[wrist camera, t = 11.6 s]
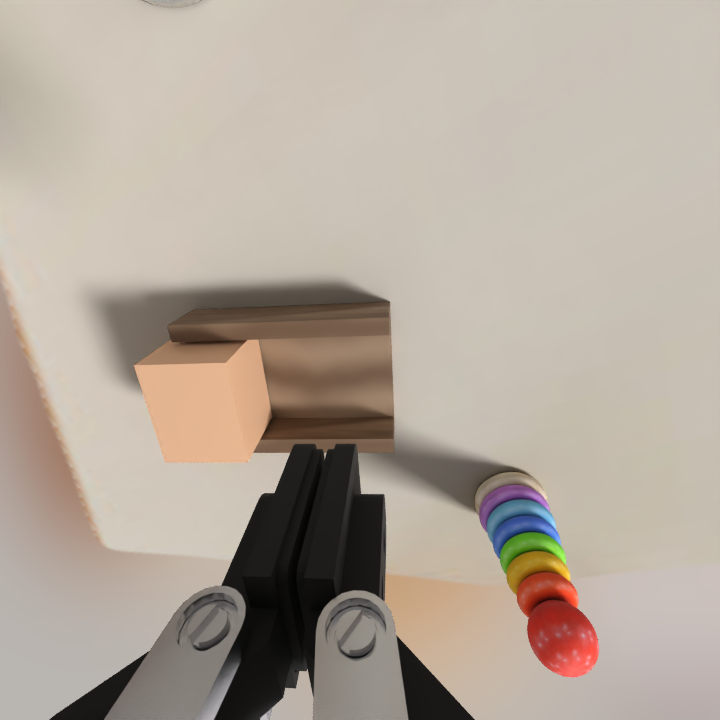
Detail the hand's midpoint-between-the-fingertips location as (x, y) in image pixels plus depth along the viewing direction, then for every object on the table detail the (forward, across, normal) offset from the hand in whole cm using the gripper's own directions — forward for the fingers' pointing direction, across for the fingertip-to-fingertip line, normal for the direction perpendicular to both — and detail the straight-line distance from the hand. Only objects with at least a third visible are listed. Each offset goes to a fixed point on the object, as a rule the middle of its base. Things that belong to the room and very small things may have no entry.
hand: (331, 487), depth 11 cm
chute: (+29, +9, +10) cm, 32 cm away
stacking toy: (+29, -14, +27) cm, 42 cm away
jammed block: (+28, +16, +10) cm, 34 cm away
